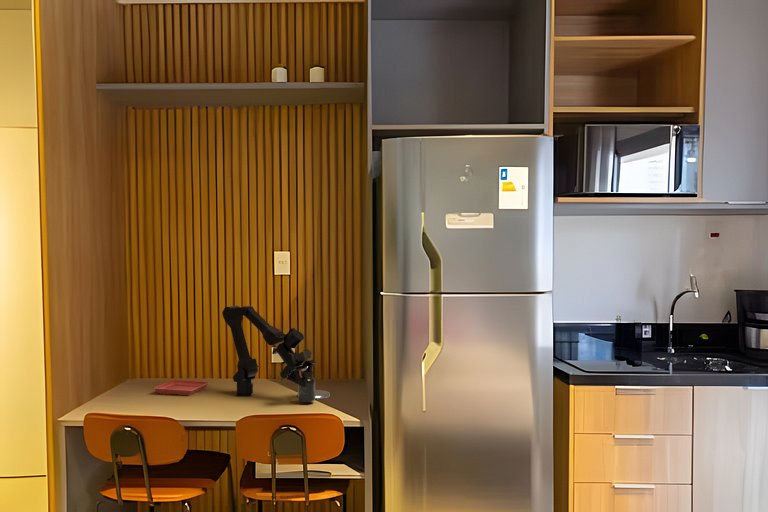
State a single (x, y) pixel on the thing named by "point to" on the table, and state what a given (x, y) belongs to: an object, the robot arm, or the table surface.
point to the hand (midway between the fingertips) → (309, 384)
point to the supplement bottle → (307, 387)
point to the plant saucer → (181, 387)
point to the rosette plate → (321, 394)
